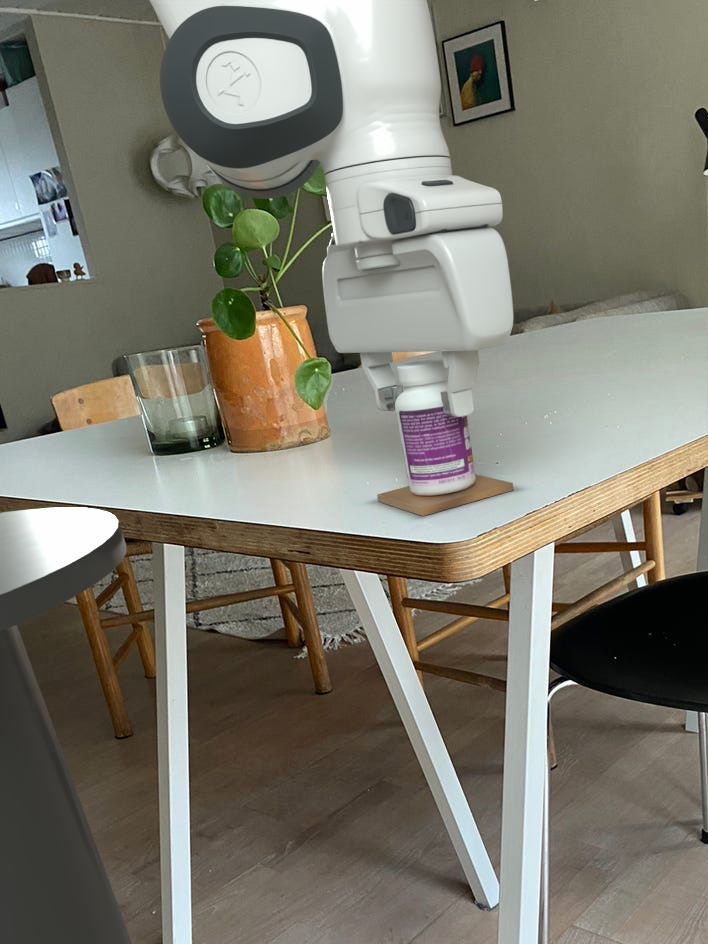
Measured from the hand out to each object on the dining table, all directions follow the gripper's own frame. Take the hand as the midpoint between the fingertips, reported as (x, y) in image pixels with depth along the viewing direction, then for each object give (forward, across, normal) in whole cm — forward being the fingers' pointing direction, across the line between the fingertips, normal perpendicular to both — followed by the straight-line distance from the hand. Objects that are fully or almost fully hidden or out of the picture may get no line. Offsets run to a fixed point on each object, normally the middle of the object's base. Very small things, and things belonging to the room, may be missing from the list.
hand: (424, 412), depth 70 cm
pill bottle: (+6, 0, +1) cm, 6 cm away
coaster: (+7, 0, +1) cm, 7 cm away
